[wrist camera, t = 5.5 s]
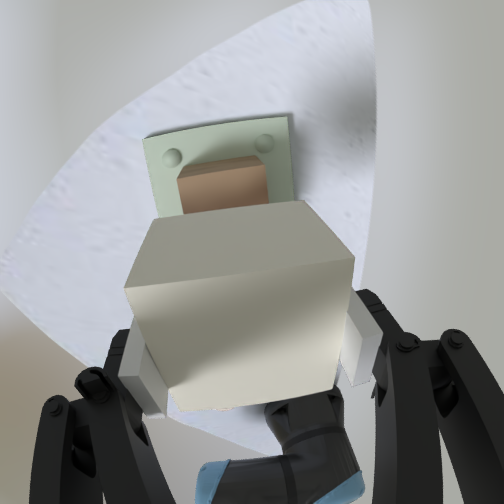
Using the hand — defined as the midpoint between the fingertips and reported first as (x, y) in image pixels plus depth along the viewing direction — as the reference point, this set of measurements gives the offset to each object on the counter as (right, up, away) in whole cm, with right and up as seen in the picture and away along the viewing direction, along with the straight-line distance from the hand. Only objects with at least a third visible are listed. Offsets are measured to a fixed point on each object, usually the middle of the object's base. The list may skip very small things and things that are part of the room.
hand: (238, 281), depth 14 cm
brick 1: (-2, +7, +14) cm, 16 cm away
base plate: (-2, +8, +15) cm, 17 cm away
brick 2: (0, 0, 0) cm, 1 cm away
